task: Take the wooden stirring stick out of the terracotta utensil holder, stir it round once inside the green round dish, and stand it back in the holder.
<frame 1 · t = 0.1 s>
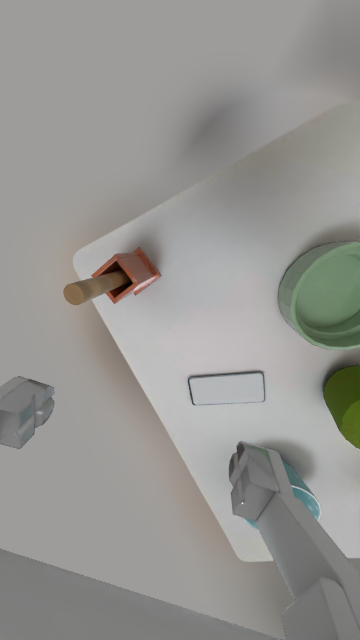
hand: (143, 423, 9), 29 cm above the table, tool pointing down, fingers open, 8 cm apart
apple: (347, 384, 38), on the table
utensil holder: (138, 271, 36), on the table
stirring stick: (137, 272, 35), point 1 cm above the table, touching utensil holder
bowl: (267, 468, 48), on the table
smartphone: (225, 387, 42), on the table
green round dish: (326, 291, 33), on the table
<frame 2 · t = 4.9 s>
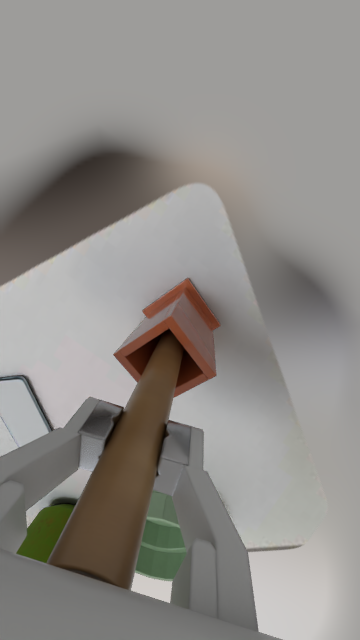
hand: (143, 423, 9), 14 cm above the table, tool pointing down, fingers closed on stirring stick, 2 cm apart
apple: (73, 511, 38), on the table
utensil holder: (181, 316, 22), on the table
stirring stick: (181, 318, 21), point 1 cm above the table, touching gripper, utensil holder
smartphone: (27, 417, 30), on the table
green round dish: (164, 499, 33), on the table
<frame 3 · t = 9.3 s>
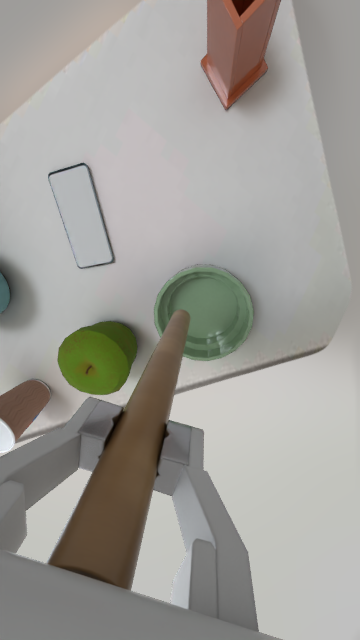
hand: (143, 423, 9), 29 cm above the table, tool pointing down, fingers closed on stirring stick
apple: (115, 341, 42), on the table
utensil holder: (233, 68, 26), on the table
stirring stick: (181, 318, 21), point 16 cm above the table, touching gripper
smartphone: (84, 220, 34), on the table
coffee cup: (38, 390, 49), on the table
green round dish: (202, 307, 37), on the table
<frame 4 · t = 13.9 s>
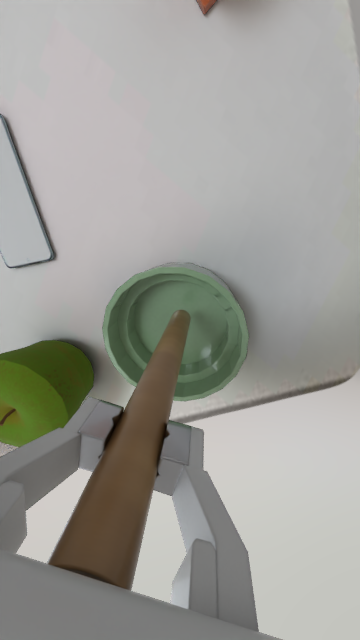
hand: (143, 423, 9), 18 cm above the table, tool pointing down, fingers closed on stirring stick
apple: (68, 364, 32), on the table
stirring stick: (181, 318, 21), point 5 cm above the table, touching gripper
smartphone: (9, 200, 24), on the table
green round dish: (179, 322, 27), on the table
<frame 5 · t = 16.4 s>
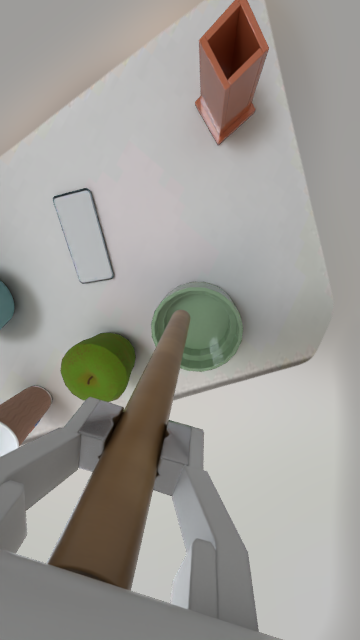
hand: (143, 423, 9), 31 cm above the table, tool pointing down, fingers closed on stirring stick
apple: (115, 350, 44), on the table
utensil holder: (224, 108, 28), on the table
stirring stick: (181, 318, 21), point 17 cm above the table, touching gripper
smartphone: (86, 239, 37), on the table
coffee cup: (40, 396, 51), on the table
green round dish: (197, 320, 39), on the table
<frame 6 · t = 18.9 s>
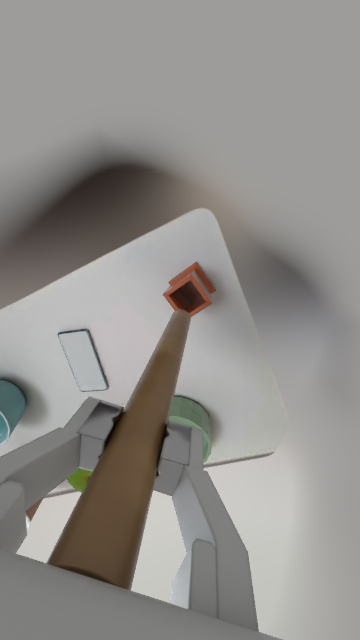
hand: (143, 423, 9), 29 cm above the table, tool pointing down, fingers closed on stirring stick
apple: (110, 437, 52), on the table
utensil holder: (192, 285, 36), on the table
stirring stick: (181, 318, 21), point 16 cm above the table, touching gripper
bowl: (9, 394, 51), on the table
smartphone: (85, 360, 44), on the table
green round dish: (177, 421, 47), on the table
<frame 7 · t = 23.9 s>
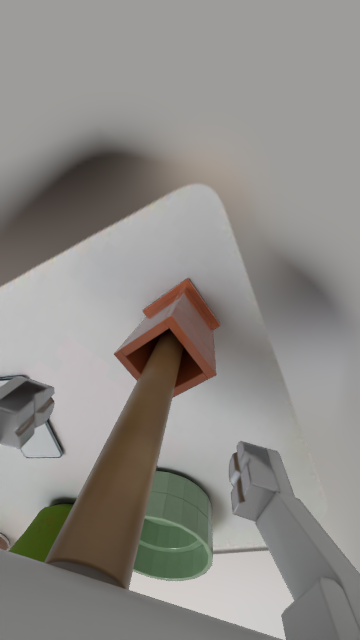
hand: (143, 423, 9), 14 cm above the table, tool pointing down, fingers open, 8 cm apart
apple: (73, 511, 38), on the table
utensil holder: (181, 316, 22), on the table
stirring stick: (180, 318, 21), point 1 cm above the table, touching utensil holder
smartphone: (27, 417, 30), on the table
green round dish: (164, 499, 33), on the table
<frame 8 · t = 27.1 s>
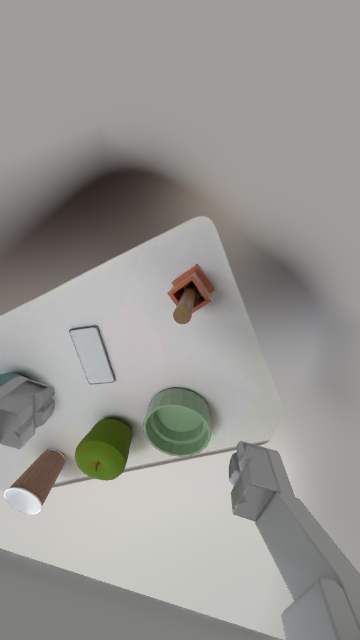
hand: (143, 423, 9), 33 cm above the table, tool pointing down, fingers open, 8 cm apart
apple: (116, 427, 56), on the table
utensil holder: (193, 285, 39), on the table
stirring stick: (192, 286, 39), point 1 cm above the table, touching utensil holder
bowl: (22, 387, 55), on the table
smartphone: (93, 355, 48), on the table
coffee cup: (55, 456, 63), on the table
green round dish: (179, 411, 51), on the table
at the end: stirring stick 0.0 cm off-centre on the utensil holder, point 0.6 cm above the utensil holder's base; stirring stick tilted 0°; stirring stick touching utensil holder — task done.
